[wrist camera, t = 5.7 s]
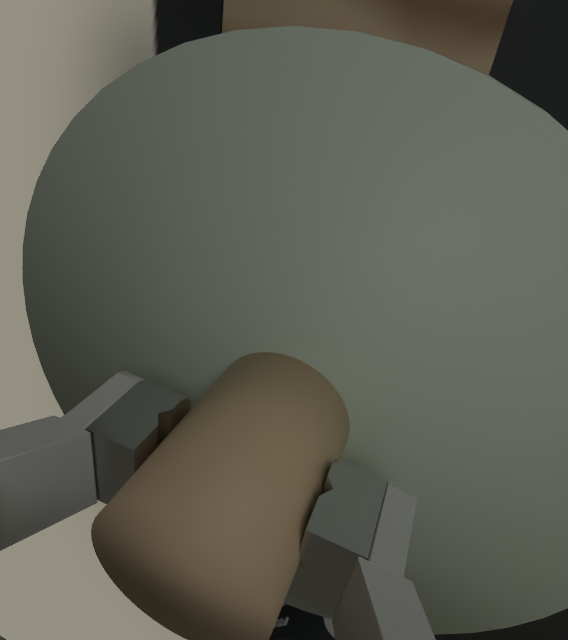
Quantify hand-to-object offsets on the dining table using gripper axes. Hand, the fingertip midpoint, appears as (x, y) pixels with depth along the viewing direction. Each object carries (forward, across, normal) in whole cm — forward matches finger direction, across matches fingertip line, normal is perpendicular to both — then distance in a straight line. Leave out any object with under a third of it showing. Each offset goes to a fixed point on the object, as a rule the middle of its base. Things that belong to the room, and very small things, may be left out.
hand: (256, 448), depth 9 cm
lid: (+2, 0, 0) cm, 2 cm away
